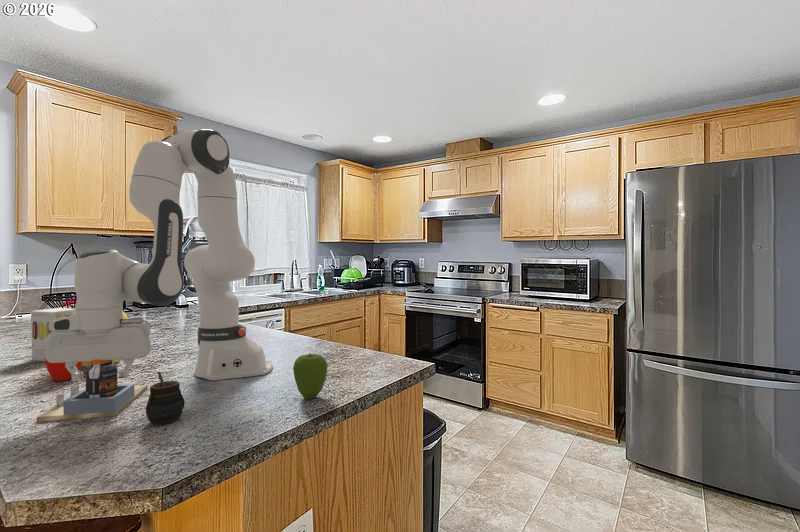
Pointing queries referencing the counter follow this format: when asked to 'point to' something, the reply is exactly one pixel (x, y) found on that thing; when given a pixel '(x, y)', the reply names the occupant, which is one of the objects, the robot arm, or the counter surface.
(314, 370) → the apple
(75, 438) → the counter surface
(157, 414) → the mate gourd
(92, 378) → the pill bottle
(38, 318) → the supplement box
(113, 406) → the end holder
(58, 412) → the board
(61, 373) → the apple
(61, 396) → the clips
